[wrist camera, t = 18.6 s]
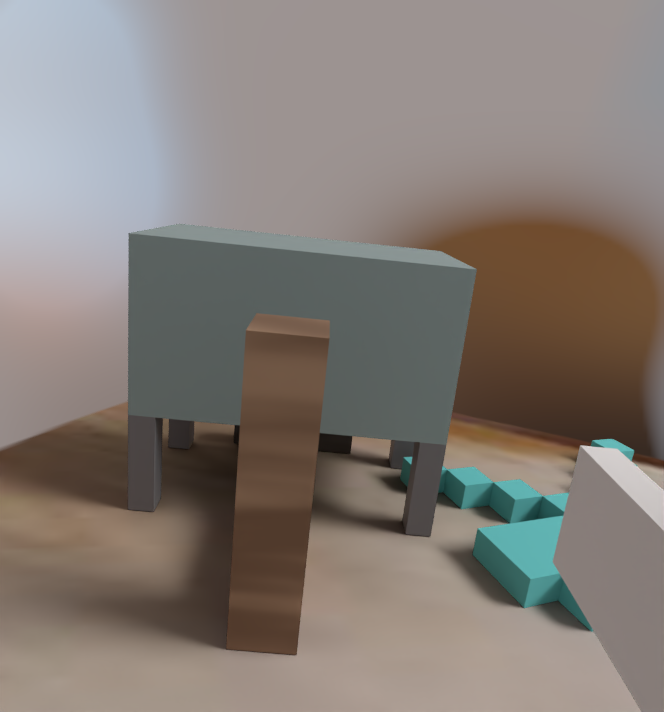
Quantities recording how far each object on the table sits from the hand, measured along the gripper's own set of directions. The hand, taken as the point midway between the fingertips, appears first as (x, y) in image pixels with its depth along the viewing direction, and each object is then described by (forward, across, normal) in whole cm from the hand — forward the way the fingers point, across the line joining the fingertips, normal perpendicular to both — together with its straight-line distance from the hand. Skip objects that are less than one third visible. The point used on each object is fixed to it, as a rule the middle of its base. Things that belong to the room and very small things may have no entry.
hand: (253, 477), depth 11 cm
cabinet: (+24, 0, -13) cm, 27 cm away
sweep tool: (+20, 0, -13) cm, 24 cm away
